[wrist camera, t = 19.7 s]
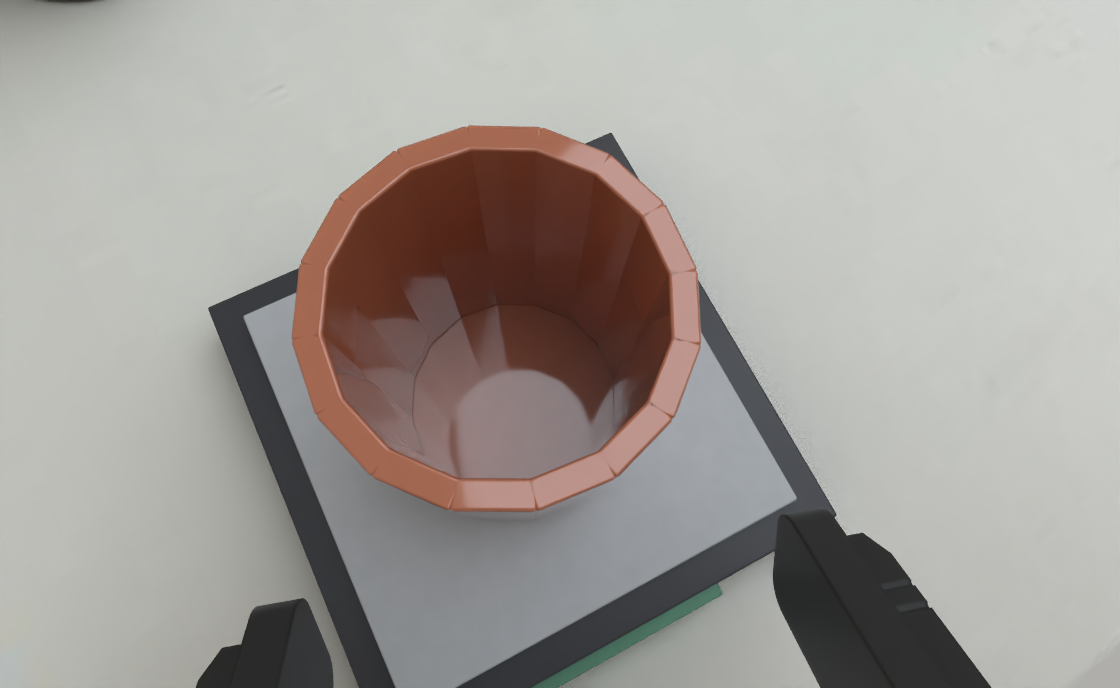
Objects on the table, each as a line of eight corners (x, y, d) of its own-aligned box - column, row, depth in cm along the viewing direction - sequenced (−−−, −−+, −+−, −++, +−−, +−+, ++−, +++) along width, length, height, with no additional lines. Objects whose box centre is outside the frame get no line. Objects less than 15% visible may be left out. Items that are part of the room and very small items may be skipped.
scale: (818, 528, 22) (855, 528, 19) (409, 758, 20) (391, 791, 17) (605, 162, 25) (613, 120, 22) (234, 326, 23) (197, 300, 20)
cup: (625, 297, 21) (690, 129, 12) (631, 521, 19) (711, 512, 10) (406, 293, 21) (313, 120, 12) (392, 521, 19) (270, 510, 10)
